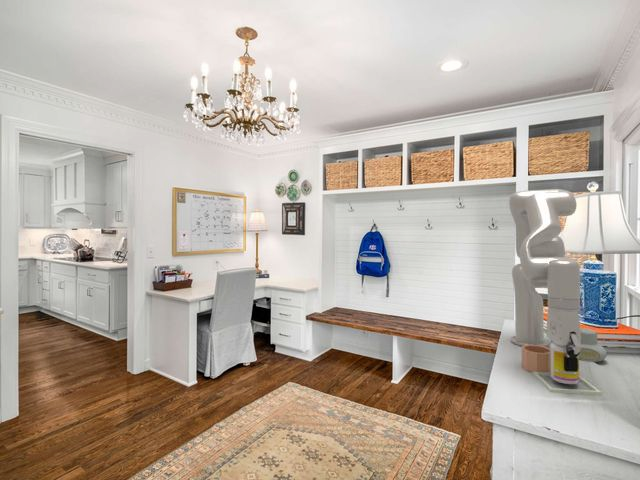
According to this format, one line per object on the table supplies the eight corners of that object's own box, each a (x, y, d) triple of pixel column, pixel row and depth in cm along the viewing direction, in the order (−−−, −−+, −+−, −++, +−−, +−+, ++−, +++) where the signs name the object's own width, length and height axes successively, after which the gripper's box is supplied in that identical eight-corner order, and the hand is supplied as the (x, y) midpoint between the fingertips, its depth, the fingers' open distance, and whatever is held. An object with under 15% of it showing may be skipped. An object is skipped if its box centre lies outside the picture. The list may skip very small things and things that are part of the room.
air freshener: (566, 360, 118) (566, 331, 118) (566, 353, 125) (566, 325, 125) (608, 366, 112) (608, 336, 112) (605, 358, 119) (605, 329, 119)
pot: (517, 365, 115) (517, 344, 115) (546, 366, 113) (546, 345, 113) (527, 375, 107) (526, 352, 107) (559, 377, 105) (558, 354, 105)
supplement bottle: (584, 386, 95) (583, 339, 94) (557, 384, 96) (556, 338, 96) (571, 375, 101) (571, 332, 101) (546, 374, 103) (546, 331, 102)
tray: (533, 376, 106) (533, 371, 106) (577, 379, 103) (577, 373, 103) (550, 395, 94) (550, 389, 94) (601, 398, 91) (601, 392, 91)
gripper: (536, 297, 107) (537, 354, 108) (563, 310, 90) (564, 377, 91) (563, 297, 106) (564, 355, 106) (596, 310, 89) (597, 379, 89)
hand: (564, 365), depth 99 cm, fingers closed on supplement bottle, 6 cm apart
